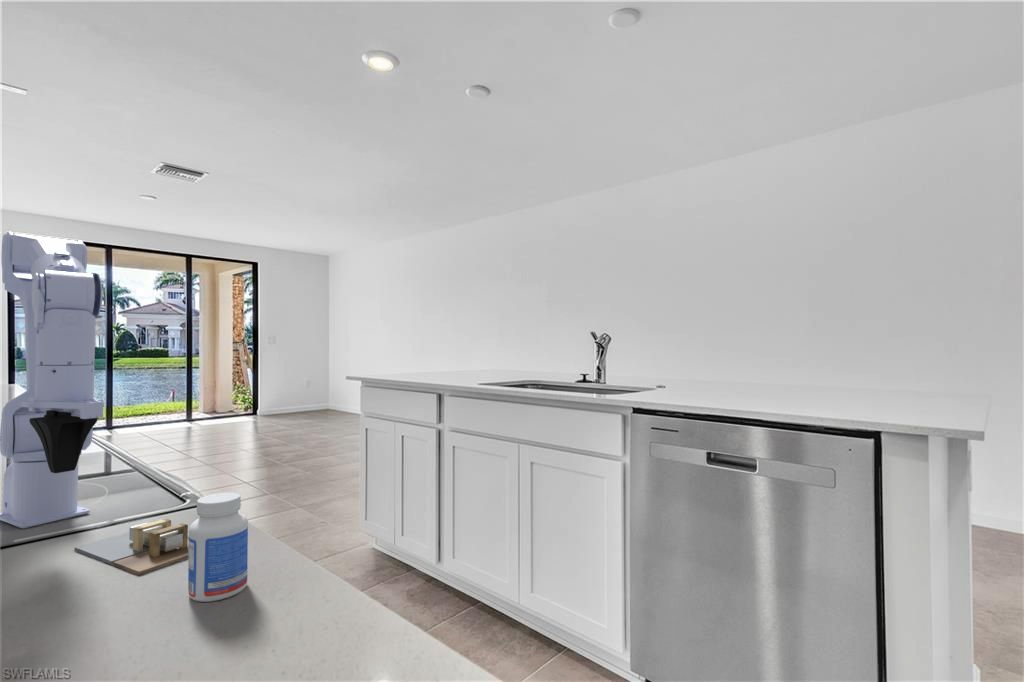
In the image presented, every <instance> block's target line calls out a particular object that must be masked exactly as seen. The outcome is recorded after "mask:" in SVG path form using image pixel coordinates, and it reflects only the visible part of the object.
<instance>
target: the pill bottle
mask: <svg viewBox="0 0 1024 682" xmlns="http://www.w3.org/2000/svg"><path fill="white" fill-rule="evenodd" d="M241 503H242V501H241V495H240V493H236V492H220V493H212V494H208V495H205V496H202V497H200V498H198V499H197V500H196V514H197V516H199V518H197V519H195V520H194V521H193V522H192V523H191V524H190V526H189V527H188V532H189V558H188V565H187V566H188V568H187V569H188V570H187V572H188V575H187V577H188V579H187V582H188V583H187V585H188V586H187V587H188V597H189V598H190V599H191V600H193V601H196V602H201V603H202V602H204V603H208V602H216V601H221V600H225V599H228V598H230V597H233V596H235V595H238V594H239V593H241V592H242V591H243V590H244V589H245V588H246V587H247V584H248V560H249V559H248V558H249V557H248V548H249V547H248V544H249V543H248V542H249V541H248V540H249V538H248V537H249V536H248V534H249V525H248V523H249V521H248V518H247V516H246V515H244V514H243V513H240V512H239V510H241V507H242V504H241Z"/></svg>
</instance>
